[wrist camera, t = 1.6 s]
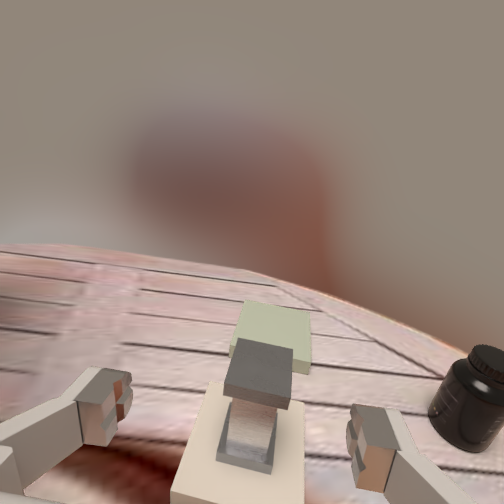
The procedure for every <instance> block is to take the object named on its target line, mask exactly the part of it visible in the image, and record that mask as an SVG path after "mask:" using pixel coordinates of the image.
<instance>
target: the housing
mask: <svg viewBox="0 0 504 504" xmlns="http://www.w3.org/2000/svg"><path fill="white" fill-rule="evenodd" d="M292 365H293V349H290V348H286V347H281V346H276V345H272V344H267V343H262V342H257V341H253V340H248V339H243V338H239V337H238V339H237V343H236V346H235V349H234V352H233V356H232V359H231V362H230V366H229V369H228V372H227V375H226V379H225V382H224V389H223V396H228V397H232V402H230V403H229V407H228V411H227V414H226V418H225V422H224V426H223V430H222V433H221V437H220V441H219V445H218V448H217V452H216V461H218V462H222V463H226V464H230V465H233V466H237V467H241V468H245V469H249V470H253V471H257V472H261V473H265V474H268V475H271V472H272V468H273V461H274V450H275V439H276V428H277V417H278V413H276V412H277V408H279V409H283V410H288V407H289V403H290V399H291V385H292Z"/></svg>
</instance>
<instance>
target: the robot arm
mask: <svg viewBox="0 0 504 504" xmlns="http://www.w3.org/2000/svg"><path fill="white" fill-rule="evenodd" d="M131 381H132V377H131V373H129V372H126V371H120V370H114V369H108V368H100V367H94V366H91V367H89V368H87V369H86V370H85V371H84V372H83V373H82V374H81V375H80V376H79V377H78V378H77V379H76V380H75V381H74V382H73V383H72V384H71V385H70V387H69V388H68V389H67V390H66V391H65V392H64V393H63V394H62V395H61V396H60V397H59V398H53V399H51V400H49V401H46V402H44V403H42V404H40V405H38V406H36V407H34V408H32V409H30V410H28V411H25V412H23V413H21V414H19V415H17V416H15V417H13V418H11V419H9V420H6V421H4V422H2V423H0V504H65V503H60V502H54V501H49V500H44V499H38V498H33V497H28V496H25V495H24V491H23V489H24V488H26V487H27V486H28V485H30V484H31V483H32V482H34V481H35V480H36V479H38V478H39V477H40V476H42V475H43V474H44V473H46V472H47V471H48V470H50V469H51V468H53V467H54V466H55V465H57V464H58V463H59V462H61V461H62V460H63V459H65V458H66V457H67V456H69V455H70V454H71V453H73V452H74V451H75V450H77V449H78V448H79V447H81V446H82V445H83V443H84V444H92V445H99V446H107V445H108V444H109V442H110V441H111V439H112V437H113V436H114V434H115V433H116V431H117V430H118V426H117V423H118V422H119V421H121V420H123V419H124V418H125V417H126V415H127V414H128V412H129V410H130V407H131V404H132V399H133V390H132V389H131V388H130V386H129V384H130V383H131ZM350 414H351V418H352V419H351V420H350V421H349V422H348V424H347V429H346V442H347V449H348V453H349V454H350V456H351V457H352V458H353V461H352V466H351V468H352V472H353V477H354V481H355V486H356V488H359V489H364V490H369V491H374V492H379V493H384V496H385V498H386V499H387V500H388V502H389V503H390V504H478V503H476V502H475V501H474V500H473V499H472V498H471V497H470V496H469V495H468V494H467V493H466V492H465V491H463V490H462V489H461V488H460V487H459V486H458V485H457V484H456V483H455V482H454V481H453V480H451V479H450V478H449V477H448V476H447V475H446V474H445V473H444V472H443V471H442V470H441V469H440V468H438V467H437V466H436V465H435V464H434V463H433V462H432V461H431V460H430V459H429V458H428V457H426V456H425V455H423V454H420V453H419V451H418V449H417V447H416V445H415V442H414V440H413V438H412V436H411V434H410V432H409V430H408V427H407V425H406V423H405V421H404V419H403V417H402V415H401V412H400V411H399V410H398V409H392V408H384V407H383V408H381V407H375V406H368V405H360V404H352V406H351V410H350Z"/></svg>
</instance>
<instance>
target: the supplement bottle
mask: <svg viewBox="0 0 504 504" xmlns="http://www.w3.org/2000/svg"><path fill="white" fill-rule="evenodd" d="M429 417H430V420H431V422H432V424H433V426H434V427H435V428H436V430H437V431H438V432H439V433H440V434H441V435H442V436H443V437H444V438H445V439H446V440H448V441H449V442H450V443H452V444H453V445H455V446H457V447H459V448H461V449H464V450H467V451H471V452H480V451H483V450H485V449H486V448H487V447H488V446H489V445H490V443H491V442H492V441H493V440H494V438H495V437H496V435H497V434H498V433H499V431H500V430H501V429H502V427H503V426H504V351H502V350H500V349H497V348H495V347H492V346H488V345H483V344H482V345H476V346H474V348H473V349H472V352H471V353H470V354H469V355H468V357H467V358H465V359H460V360H457V361H455V362H454V363H453V364H452V366H451V367H450V369H449V371H448V373H447V375H446V376H445V378H444V380H443V382H442V384H441V386H440V387H439V389H438V391H437V393H436V395H435V397H434V398H433V400H432V402H431V404H430V407H429Z"/></svg>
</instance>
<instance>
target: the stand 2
mask: <svg viewBox="0 0 504 504" xmlns="http://www.w3.org/2000/svg"><path fill="white" fill-rule="evenodd" d="M223 389H224V384H220V383H216V382H211V381H210V383H209V385H208V388H207V391H206V394H205V396H204V399H203V402H202V405H201V407H200V410H199V413H198V416H197V418H196V421H195V424H194V427H193V429H192V432H191V435H190V438H189V440H188V443H187V446H186V449H185V451H184V454H183V457H182V460H181V462H180V465H179V468H178V471H177V473H176V476H175V479H174V482H173V484H172V487H171V490H170V504H304V403H303V402H298V401H294V400H290V403H289V407H288V410H283V409H279V408H277V412H276V413H278V417H277V428H276V439H275V450H274V461H273V468H272V472H271V475H268V474H265V473H261V472H257V471H253V470H249V469H245V468H241V467H237V466H233V465H230V464H226V463H222V462H218V461H216V452H217V448H218V445H219V441H220V437H221V433H222V430H223V426H224V422H225V418H226V414H227V411H228V407H229V403H230V402H232V397H228V396H223Z"/></svg>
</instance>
